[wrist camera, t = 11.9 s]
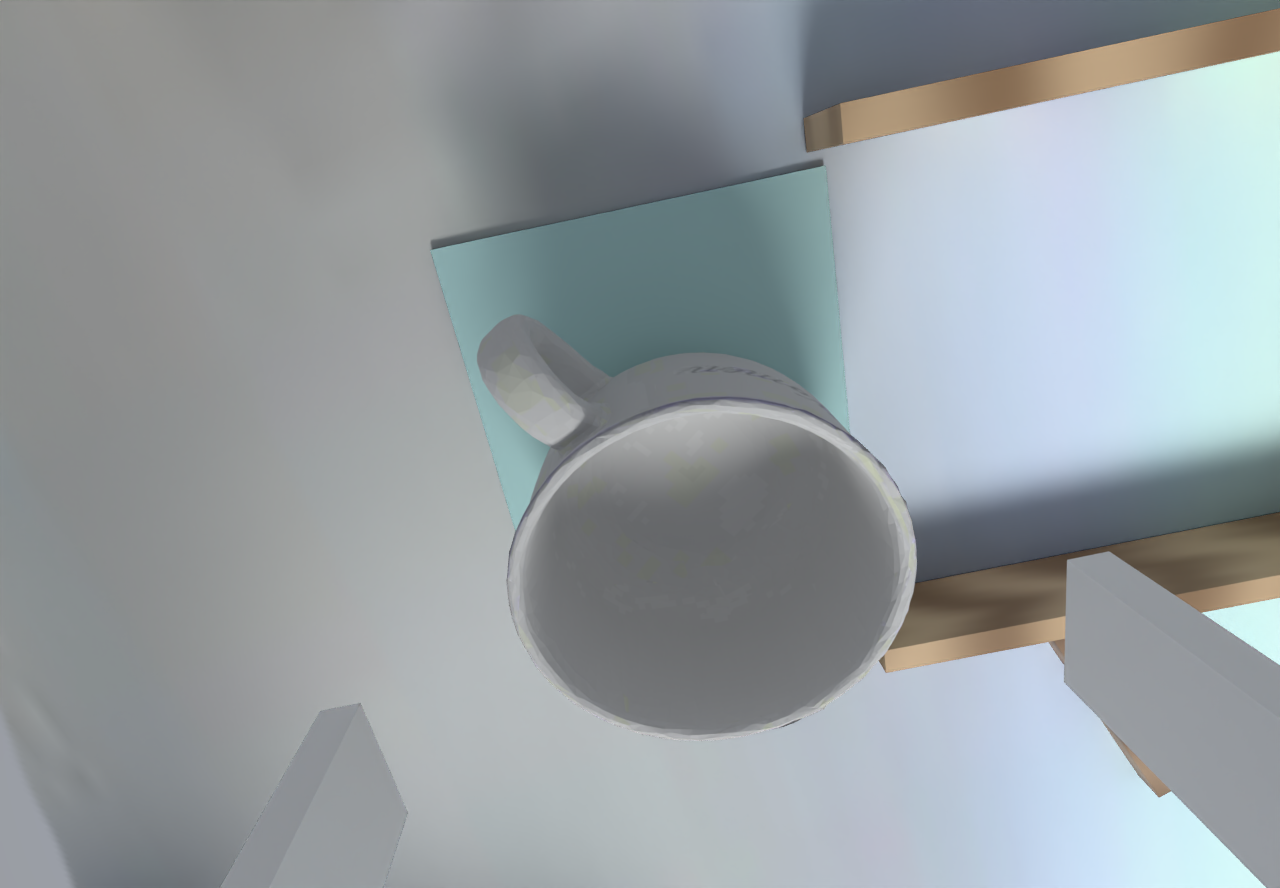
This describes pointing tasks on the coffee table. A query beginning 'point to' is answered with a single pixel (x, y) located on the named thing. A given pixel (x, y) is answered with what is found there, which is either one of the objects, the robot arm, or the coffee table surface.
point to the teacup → (695, 539)
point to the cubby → (1179, 562)
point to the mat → (659, 294)
